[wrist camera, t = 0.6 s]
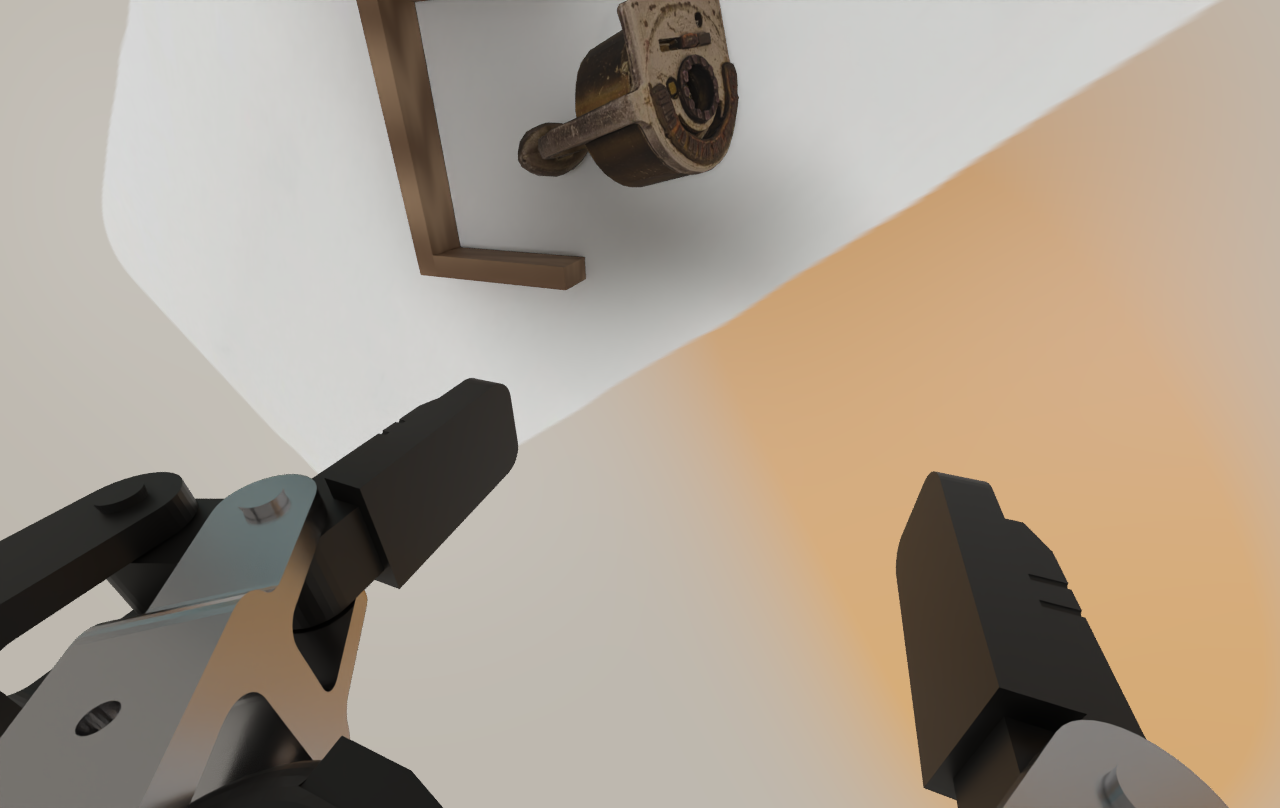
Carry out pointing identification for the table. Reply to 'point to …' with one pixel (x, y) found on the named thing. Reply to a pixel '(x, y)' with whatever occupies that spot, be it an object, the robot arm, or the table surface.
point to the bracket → (437, 162)
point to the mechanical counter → (647, 99)
